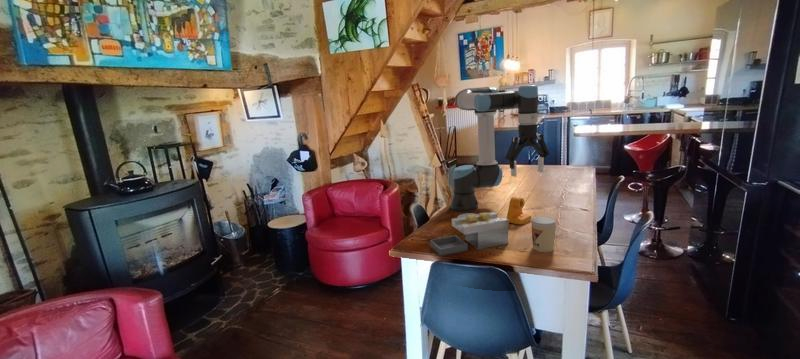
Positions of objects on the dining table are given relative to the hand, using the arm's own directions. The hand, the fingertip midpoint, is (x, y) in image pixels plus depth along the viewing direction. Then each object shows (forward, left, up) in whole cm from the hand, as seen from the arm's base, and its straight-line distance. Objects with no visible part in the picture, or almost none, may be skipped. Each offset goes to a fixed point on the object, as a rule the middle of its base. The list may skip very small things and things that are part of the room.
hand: (527, 174), depth 159 cm
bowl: (-17, -19, -28) cm, 37 cm away
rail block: (-1, -23, -27) cm, 35 cm away
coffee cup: (+15, -3, -28) cm, 32 cm away
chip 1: (-1, -26, -18) cm, 32 cm away
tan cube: (-1, -20, -18) cm, 27 cm away
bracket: (-16, +7, -28) cm, 32 cm away
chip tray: (-1, -37, -27) cm, 46 cm away
